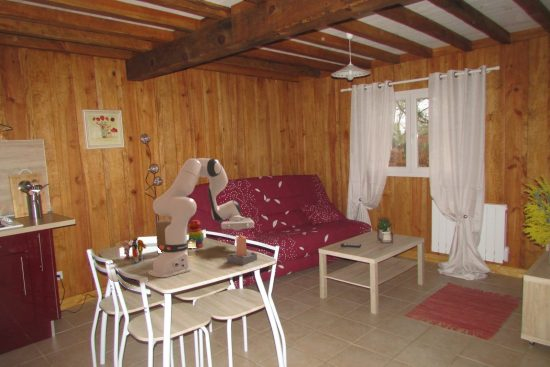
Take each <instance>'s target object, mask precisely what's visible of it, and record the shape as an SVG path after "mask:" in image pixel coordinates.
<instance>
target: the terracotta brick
mask: <svg viewBox="0 0 550 367" xmlns="http://www.w3.org/2000/svg"><path fill="white" fill-rule="evenodd" d="M235 239H236V240H235V241H236V252H237V255H238V256H247V252H248V251H247V237H246V236H245V235H244V236H243V235H239V236H235Z"/></svg>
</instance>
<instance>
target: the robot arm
mask: <svg viewBox="0 0 550 367" xmlns="http://www.w3.org/2000/svg"><path fill="white" fill-rule="evenodd" d="M199 178H208V180H209V186H208V187H207V196H208V199H209V204H210V208H211V217H212V219H213V220H214V221H215V222H218V223H220V227H221V229H222V230H233V231H240V230H243V229H244V230H245V229H254V228H255V221H254V220H253V219H251V217H247V216H242V214H243V213H242V208H241V207H240V205H239V203H238V202H237V201H236V200H233V199H232V200H230V201H227V202H226V203H222V204H220V205H218V203H217V200H216V199H217V196H218V195H219V194H220V193H222V191H223V190H225V189H226V187H227V185H228V183H229V178H228V175H227V172H226V171H225V168H224V167H223V165H222V163H221V161H219V159H217V158H207V157H206V158H205V157H198V158H188V159H186V160H185V162H184V163H183V165H182V166H181V167H180V170H179V172H178V174H177V175H176V178H175V179H174V181H173V183H172V185H171V186H170V187H169V188H168V189H167V190H166V191H165V192H164V193H162V194H161V195H160V196H158V197H156V198H155V199H154V200H153V203H152V209H153V212H154V214H156V215H159V216H160V217H168V218H169V217H170V218H171V219H172V222H171V224H170V225H168V226H167V227H166V229H165V242H166V243H165V245H164V246H162V245H160V246H159V248H160V249H163V252H162V253H161V254H159V256H157V257H156V258H155V260H154V261H153V263H152V264H153V265H152V269H151V270H148V275H149V276H152V277H154V278H155V277H156V278H169V277H173V276H175V275H181V274H184V273H188V272H191V268H192V265H191V262H190V260H189V259H190V257H189V253H188V252H189V249H188V244H189V242H188V239H187V238H188V236H187V235H188V234H187V230H188V225H189V221H190V220H191V218H192V217H193V216H194V215H195V214H196V212H197V208H198V207H197V203H196V201H195V199H193V198H190V197H188V196H189V195H191V194H192V193H193V192H194V190H195V187H196V185H197V183H198V180H199ZM226 219H229V221H227V220H226ZM224 220H226V221H224Z"/></svg>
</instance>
